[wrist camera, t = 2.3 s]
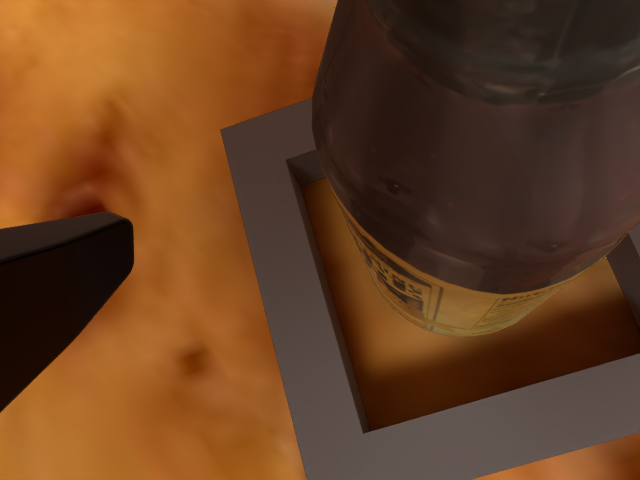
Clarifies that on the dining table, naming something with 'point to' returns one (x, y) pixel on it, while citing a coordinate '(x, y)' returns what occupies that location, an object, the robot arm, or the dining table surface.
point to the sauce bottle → (481, 148)
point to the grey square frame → (335, 365)
